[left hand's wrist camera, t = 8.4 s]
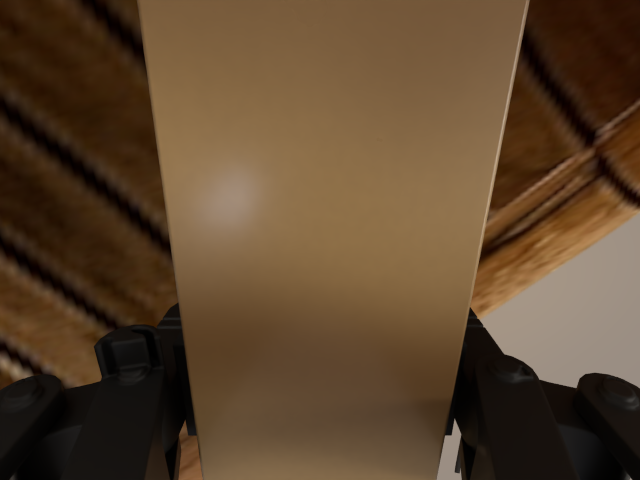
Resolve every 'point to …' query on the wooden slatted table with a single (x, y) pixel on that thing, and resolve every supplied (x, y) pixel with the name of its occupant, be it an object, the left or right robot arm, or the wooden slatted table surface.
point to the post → (327, 219)
